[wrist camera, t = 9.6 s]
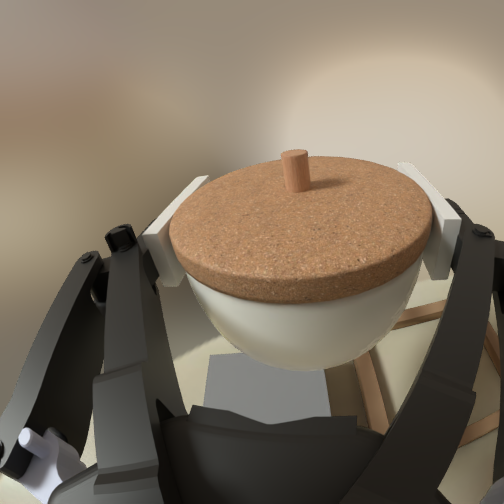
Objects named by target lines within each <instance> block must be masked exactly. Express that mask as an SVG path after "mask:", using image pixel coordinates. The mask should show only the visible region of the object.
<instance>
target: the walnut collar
mask: <svg viewBox="0 0 504 504" xmlns="http://www.w3.org/2000/svg"><path fill="white" fill-rule="evenodd" d="M446 300H447V299H446ZM446 300H442V301H438V302H435V303H431V304H427V305H423V306H418V307H414V308H410V309H405V310H404V311H403V313H402V314H401V316H400V318H399V319H398V321H397V322H396V324H395V325H394V326H393V328H392V329H391V330H394V329H398V328H402V327H407V326H411V325H415V324H419V323H423V322H426V321H430V320H434V319H437V318H441V315H442V312H443V309H444V306H445V303H446ZM484 346H485V348H486V350H487V352H488V354H489V356H490V357H491V359H492V361H493V363H494V365H495V367H496V369H497V371H498V374H499V376H500V378H501V370H500V350H499V338H498V336H497V334H496V333H495V331H494V329H493V328H492V326H491V324H490V323H489V321H488V324H487V330H486V335H485V340H484ZM353 361H354V365H355V369H356V373H357V377H358V381H359V386H360V390H361V394H362V399H363V403H364V408H365V413H366V417H367V422H368V427H369V429H372V430H374V431H377V432H379V433H381V434H383V435H384V434H385V432H386V431H387V429H388V428H389V423H388V419H387V415H386V411H385V407H384V403H383V399H382V395H381V391H380V388H379V384H378V381H377V377H376V373H375V370H374V367H373V363H372V360H371V356H370V353H369V351H368V352H366V353H364V354H363V355H361V356H359V357H358V358H356V359H354V360H353ZM499 416H500V410H498V411H496V412H494V413H493V414H491V415H489V416H487V417H485V418H483V419H481V420H479V421H477V422H475V423H473V424H471V425H469V426H467V427H466V429H465V432H464V434H463V437H462V439H461V441H460V444H459V446H458V448H460V447H462V446H464V445H466V444H468V443H470V442H472V441H474V440H476V439H478V438H480V437H482V436H483V435H485V434H487V433H489V432H491V431H493V430H494V429H496V428H498V427H499Z"/></svg>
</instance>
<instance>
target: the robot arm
mask: <svg viewBox="0 0 504 504" xmlns="http://www.w3.org/2000/svg"><path fill="white" fill-rule="evenodd" d="M398 171H399V172H401V173H403V174H405V175H406V176H408V177H409V178H411V179H412V180H414V181H415V182H416V183H417V184H418V185H419V186H420V187H421V188H422V189H423V190H424V192H425V193H426V194H427V196H428V198H429V200H430V203H431V206H432V224H431V230H430V235H429V238H428V241H427V244H426V247H425V249H424V253H423V258H422V259H423V261H424V263H425V266H426V268H427V270H428V272H429V275H430V277H431V280H444V279H448V276H449V272H450V268H452V270H453V272H454V277H453V280H452V283H451V287H450V290H449V293H448V297H447V300H446V303H445V306H444V309H443V312H442V315H441V318H440V321H439V324H438V326H437V329H436V332H435V334H434V337H433V339H432V342H431V344H430V347H429V349H428V352H427V354H426V356H425V359H424V361H423V363H422V365H421V368H420V370H419V372H418V374H417V376H416V378H415V380H414V382H413V384H412V386H411V388H410V390H409V392H408V394H407V396H406V398H405V400H404V402H403V404H402V405H401V407H400V409H399V411H398V413H397V414H396V416H395V418H394V419H393V421H392V423H391V424H390V426H389V428H388V429H387V431H386V432H385V434H384V435H383V434H381V433H379V432H377V431H374V430H372V429H369V428H365V427H361V426H357V416H327V417H317V416H315V417H310V418H305V419H300V420H295V421H289V422H283V423H277V424H265V423H262V422H259V421H256V420H253V419H251V418H248V417H245V416H242V415H240V414H237V413H234V412H232V411H229V410H222V409H215V408H208V407H202V406H197V405H192V408H191V411H190V414H189V415H188V414H187V412H186V409H185V406H184V403H183V400H182V396H181V392H180V388H179V384H178V381H177V377H176V373H175V368H174V364H173V360H172V356H171V351H170V347H169V342H168V337H167V333H166V328H165V323H164V318H163V312H162V307H161V301H160V295H159V290H158V287H157V285H156V283H155V282H156V280H157V278H158V277H160V279H161V281H162V284H163V286H173V287H174V286H177V287H178V285H179V284H180V282H181V280H182V279H183V277H184V275H185V273H186V271H185V270H184V268H183V267H182V265H181V264H180V263H179V261H178V259H177V257H176V254H175V251H174V249H173V246H172V243H171V239H170V236H169V228H170V223H171V220H172V217H173V215H174V212H175V211H176V210H177V208H178V207H179V206H180V204H181V203H182V202H183V201H184V200H185V199H186V198H187V197H188V196H190V195H191V194H192V193H194V192H195V191H196V190H198V189H199V188H201V187H203V186H204V185H206V184H207V183H209V182H210V179H209V176H201V177H197V178H196V179H195V180H193V181H192V183H190V184H189V185H188V186H187V187H186V188H185V189H184V191H183V192H182V193H181V194H180V195H179V196H178V197H177V198H176V199H175V200H174V201H173V202H172V203H171V204H170V205H169V206H168V207H167V208H166V209H165V210H164V211H163V212H162V213H161V215H160V216H159V217H157V218H156V219H154V220H153V221H152V222H151V223H150V224H149V226H148V227H147V228H146V229H145V230H144V231H143V232H142V233H141V234H140V235H139V236H138V237H137V239H136V236H135V234H134V231H133V229H132V226H131V225H130V224H124V225H120V226H118V227H115V228H113V229H112V230H110V231H109V232H108V233H107V234H106V235H105V240H106V242H107V244H108V246H109V248H110V250H111V253H112V254H111V257H108V258H104V259H102V258H101V256H100V254H99V253H98V251H91V252H87V253H85V254H83V255H82V257H80V258H79V259H78V261H77V262H76V263H75V265H74V267H73V268H72V270H71V272H70V273H69V275H68V277H67V278H66V280H65V282H64V284H63V286H62V287H61V289H60V291H59V292H58V294H57V296H56V298H55V300H54V302H53V304H52V305H51V307H50V309H49V311H48V313H47V315H46V317H45V319H44V321H43V323H42V325H41V328H40V329H39V331H38V334H37V336H36V338H35V340H34V342H33V345H32V347H31V349H30V351H29V354H28V356H27V358H26V361H25V363H24V366H23V368H22V371H21V373H20V376H19V379H18V381H17V384H16V387H15V390H14V393H13V395H12V398H11V400H10V402H9V404H8V405H7V407H6V409H5V410H4V412H3V414H2V416H1V418H0V472H1V473H3V474H5V475H6V476H8V477H10V478H12V479H14V480H15V481H17V482H19V483H21V484H22V485H23V486H24V487H25V488H26V489H27V490H28V491H29V492H31V493H32V494H33V495H34V496H35V497H36V498H37V499H38V500H39V501H40V502H41V503H43V504H451V503H450V502H449V501H448V500H447V499H446V497H445V496H444V495H443V494H442V493H441V492H440V491H439V490H438V489H437V488H438V487H439V485H440V483H441V481H442V479H443V477H444V475H445V473H446V472H447V470H448V468H449V466H450V463H451V461H452V459H453V457H454V455H455V453H456V451H457V448H458V446H459V444H460V441H461V439H462V437H463V434H464V432H465V429H466V426H467V424H468V421H469V418H470V415H471V413H472V410H473V407H474V403H475V399H476V392H474V391H472V388H473V384H474V381H475V377H476V374H477V370H478V366H479V362H480V358H481V354H482V350H483V345H484V340H485V335H486V330H487V324H488V318H489V311H490V304H491V296H492V294H493V300H494V306H495V312H496V320H497V328H498V337H499V350H500V370H501V396H500V416H499V428H498V437H497V445H496V452H495V461H494V472H493V485H492V486H491V487H490V489H489V490H488V492H487V494H486V496H485V497H483V499H482V500H481V501H480V504H504V242H503V241H498V240H495V236H494V234H493V232H492V231H491V230H490V229H488V228H487V227H485V226H482V225H479V224H474V223H473V222H472V221H471V220H470V219H469V217H468V216H467V215H466V214H465V213H464V211H462V210H461V208H460V207H459V206H458V205H457V204H456V203H455V202H453V201H452V200H450V199H444V198H443V197H442V195H440V193H439V192H438V191H437V190H436V189H435V188H434V187H433V186H432V185H431V183H430V182H429V181H428V180H427V179H426V178H425V177H424V176H423V175H422V174H421V173H420V172H419V171H418V170H417V169H416V168H415V167H414V166H413V165H412V164H411V163H406V162H404V163H403V162H400V163H399V162H398ZM91 294H92V296H93V297H94V301H93V300H92V297H91ZM103 360H104V373H103V374H100V372H101V368H102V364H103ZM92 409H93V420H94V435H95V447H96V457H97V463H95V464H94V465H92V466H90V467H88V468H87V467H86V465H85V464H84V463H83V462H81V461H80V458H81V456H82V453H83V450H84V447H85V444H86V440H87V436H88V431H89V426H90V420H91V415H92Z"/></svg>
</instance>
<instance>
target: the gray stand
mask: <svg viewBox="0 0 504 504" xmlns="http://www.w3.org/2000/svg"><path fill="white" fill-rule="evenodd" d="M203 407H208V408H215V409H222V410H229V411H232V412H234V413H237V414H240V415H242V416H245V417H248V418H251V419H253V420H256V421H259V422H262V423H265V424H277V423H283V422H289V421H295V420H300V419H305V418H310V417H315V416H317V417H327V416H331V412H330V405H329V398H328V392H327V386H326V379H325V373H324V369H323V370H315V371H292V370H286V369H281V368H277V367H272V366H269V365H266V364H264V363H261V362H259V361H256V360H254V359H252V358H251V357H249V356H247V355H246V354H244V353H234V354H220V355H210V359H209V366H208V373H207V380H206V388H205V396H204V403H203Z"/></svg>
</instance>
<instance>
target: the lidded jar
mask: <svg viewBox="0 0 504 504" xmlns="http://www.w3.org/2000/svg"><path fill="white" fill-rule="evenodd" d="M281 158H282V159H281V160H276V161H270V162H265V163H261V164H257V165H253V166H249V167H246V168H243V169H240V170H237V171H234V172H231V173H229V174H226V175H224V176H222V177H219V178H217V179H215V180H213V181H211V182H209V183H207V184H206V185H204V186H203V187H201V188H199V189H198V190H196V191H195V192H194V193H192V194H191V195H190V196H188V197H187V198H186V199H185V200H184V201H183V202H182V203H181V204H180V206H179V207H178V208H177V210H176V211H175V212H174V215H173V217H172V220H171V223H170V228H169V236H170V239H171V243H172V246H173V249H174V251H175V254H176V257H177V259H178V261H179V263H180V264H181V265H182V267H183V268H184V270H185V271H186V274H187V277H188V279H189V282H190V285H191V287H192V289H193V291H194V293H195V296H196V298H197V300H198V302H199V303H200V305H201V307H202V308H203V310H204V312H205V313H206V315H207V316H208V318H209V319H210V321H211V322H212V323H213V325H214V326H215V327H216V329H217V330H218V331H219V332H220V333H221V334H222V336H223V337H224V338H225V339H226V340H227V341H229V342H230V343H231V344H232V345H233V346H234V347H235V348H237V349H238V350H240V351H241V352H243V353H244V354H246V355H247V356H249V357H251V358H252V359H254V360H256V361H259V362H261V363H264V364H266V365H269V366H272V367H277V368H281V369H286V370H292V371H315V370H323V369H328V368H332V367H336V366H339V365H342V364H344V363H347V362H349V361H351V360H354V359H356V358H358V357H359V356H361V355H363V354H364V353H366V352H368V351H369V350H370V349H372V348H373V347H374V346H375V345H376V344H377V343H378V342H380V341H381V340H382V339H383V338H384V337H385V336H386V335H387V334H388V333H389V332H390V330H391V329H392V328H393V326H394V325H395V324H396V322H397V321H398V319H399V318H400V316H401V314H402V313H403V311H404V310H405V308H406V305H407V303H408V301H409V298H410V296H411V294H412V291H413V289H414V286H415V284H416V281H417V278H418V274H419V271H420V267H421V263H422V258H423V253H424V249H425V247H426V244H427V241H428V238H429V235H430V230H431V224H432V206H431V203H430V200H429V198H428V196H427V194H426V193H425V192H424V190H423V189H422V188H421V187H420V186H419V185H418V184H417V183H416V182H415V181H414V180H412V179H411V178H409V177H408V176H406V175H405V174H403V173H401V172H399V171H397V170H394V169H392V168H389V167H386V166H383V165H380V164H376V163H373V162H370V161H364V160H358V159H352V158H343V157H324V156H320V157H319V156H314V157H308V152H307V151H306V150H299V149H298V150H289V151H285V152H283V153H281Z"/></svg>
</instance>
